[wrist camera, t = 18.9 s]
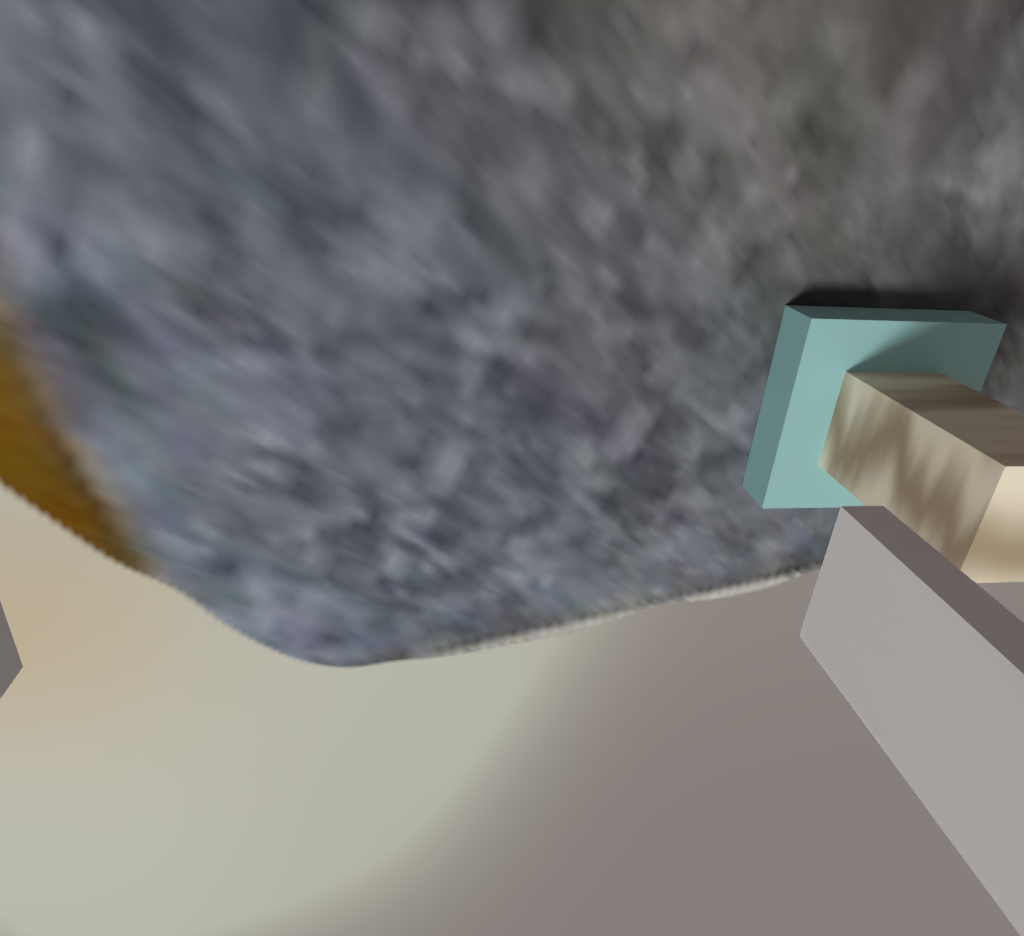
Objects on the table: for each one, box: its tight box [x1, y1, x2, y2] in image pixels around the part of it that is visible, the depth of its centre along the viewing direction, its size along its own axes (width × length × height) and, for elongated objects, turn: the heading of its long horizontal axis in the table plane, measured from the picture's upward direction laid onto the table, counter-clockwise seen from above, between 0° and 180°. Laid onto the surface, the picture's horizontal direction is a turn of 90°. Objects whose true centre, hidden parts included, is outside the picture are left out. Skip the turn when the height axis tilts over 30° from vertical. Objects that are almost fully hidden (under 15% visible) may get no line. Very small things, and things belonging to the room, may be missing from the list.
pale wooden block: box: [818, 371, 1024, 583], centre depth 36 cm, size 6×6×12 cm
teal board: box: [742, 305, 1007, 508], centre depth 42 cm, size 12×12×3 cm
